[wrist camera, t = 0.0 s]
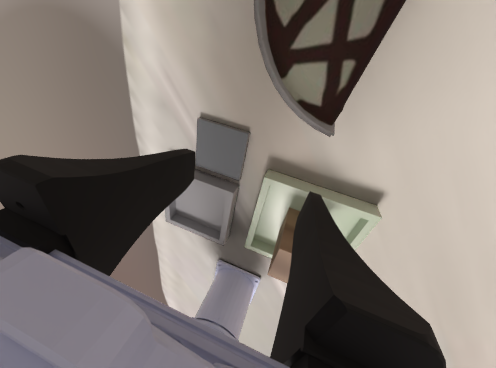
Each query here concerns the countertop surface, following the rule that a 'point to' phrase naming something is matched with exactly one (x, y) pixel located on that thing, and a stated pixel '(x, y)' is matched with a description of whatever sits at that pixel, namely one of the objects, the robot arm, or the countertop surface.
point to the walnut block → (284, 247)
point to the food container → (320, 50)
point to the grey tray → (205, 207)
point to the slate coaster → (221, 148)
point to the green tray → (294, 195)
